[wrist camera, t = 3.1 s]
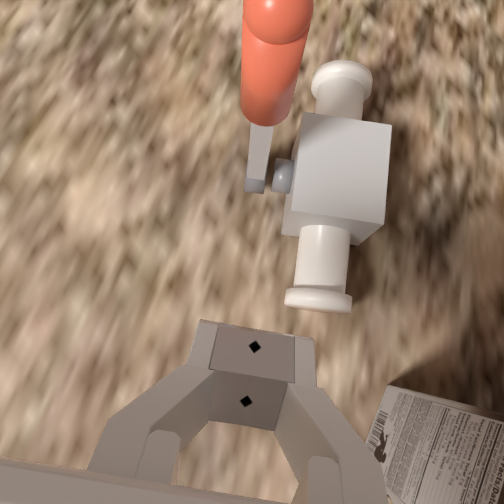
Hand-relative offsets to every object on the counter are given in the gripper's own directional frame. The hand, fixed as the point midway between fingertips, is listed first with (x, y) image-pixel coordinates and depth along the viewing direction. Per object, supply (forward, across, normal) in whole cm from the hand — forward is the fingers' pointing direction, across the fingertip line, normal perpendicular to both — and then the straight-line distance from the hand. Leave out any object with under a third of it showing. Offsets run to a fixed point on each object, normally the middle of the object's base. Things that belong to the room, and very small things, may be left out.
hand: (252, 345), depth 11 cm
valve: (+23, -5, +6) cm, 24 cm away
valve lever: (+22, +1, +5) cm, 23 cm away
